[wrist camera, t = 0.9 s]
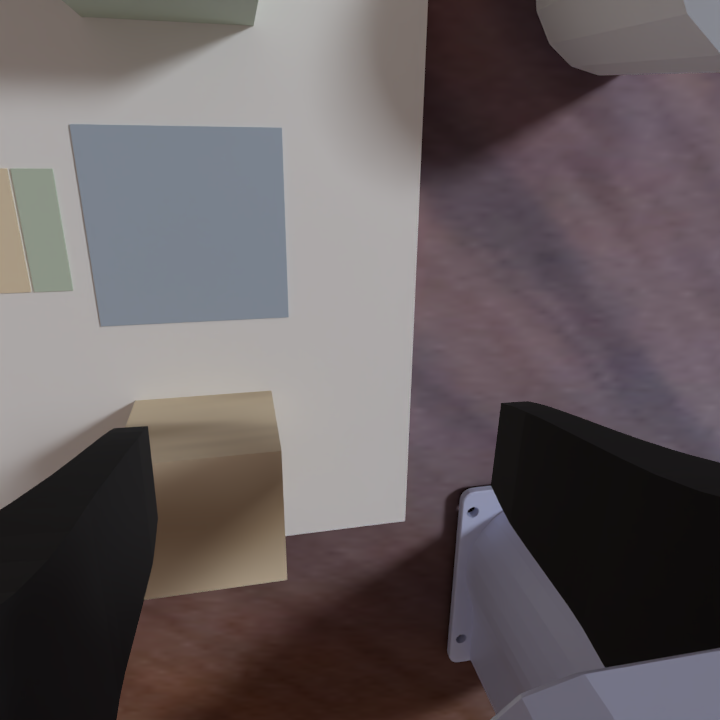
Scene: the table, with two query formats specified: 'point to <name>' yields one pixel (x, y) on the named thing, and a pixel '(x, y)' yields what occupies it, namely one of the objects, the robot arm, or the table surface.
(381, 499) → the blueprint baseplate
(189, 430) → the maple block
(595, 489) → the robot arm
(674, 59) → the white tumbler
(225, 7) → the sage block
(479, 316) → the table surface
